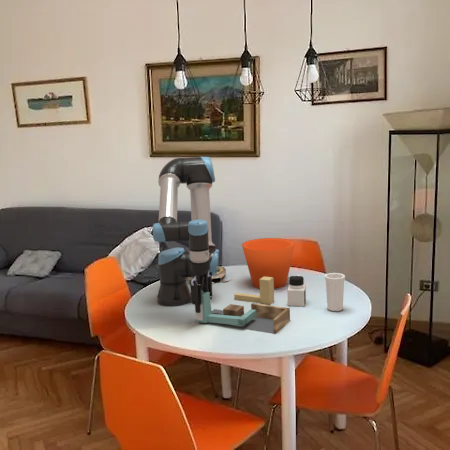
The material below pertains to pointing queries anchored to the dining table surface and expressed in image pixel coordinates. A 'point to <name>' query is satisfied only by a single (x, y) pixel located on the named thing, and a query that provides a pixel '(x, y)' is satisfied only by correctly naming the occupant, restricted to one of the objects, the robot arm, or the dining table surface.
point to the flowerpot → (269, 259)
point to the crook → (223, 318)
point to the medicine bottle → (296, 291)
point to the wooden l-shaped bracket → (273, 314)
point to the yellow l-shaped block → (265, 293)
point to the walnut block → (233, 310)
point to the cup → (334, 291)
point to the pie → (220, 274)
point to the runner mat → (252, 324)
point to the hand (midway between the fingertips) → (203, 317)
